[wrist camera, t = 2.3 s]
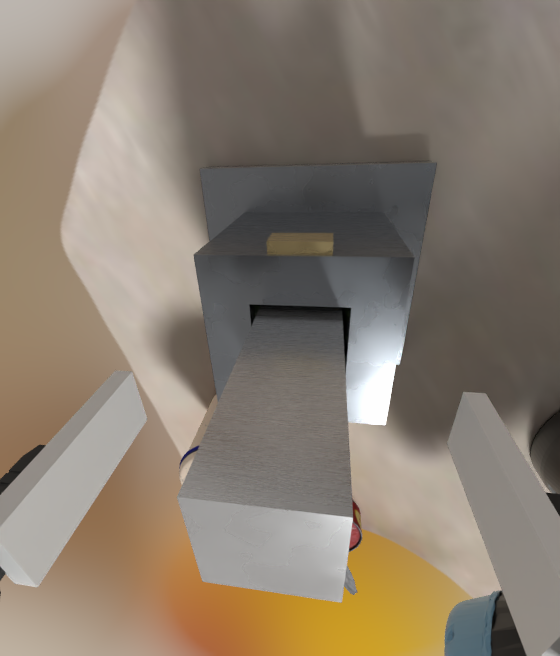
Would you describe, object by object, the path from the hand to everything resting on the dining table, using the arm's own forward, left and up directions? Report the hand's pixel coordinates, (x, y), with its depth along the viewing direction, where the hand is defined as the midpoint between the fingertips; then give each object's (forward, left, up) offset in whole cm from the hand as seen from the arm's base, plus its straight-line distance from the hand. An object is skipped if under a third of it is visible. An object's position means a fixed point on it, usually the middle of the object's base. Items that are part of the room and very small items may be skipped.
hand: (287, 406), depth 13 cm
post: (0, 0, -15) cm, 15 cm away
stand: (0, 0, -17) cm, 17 cm away
